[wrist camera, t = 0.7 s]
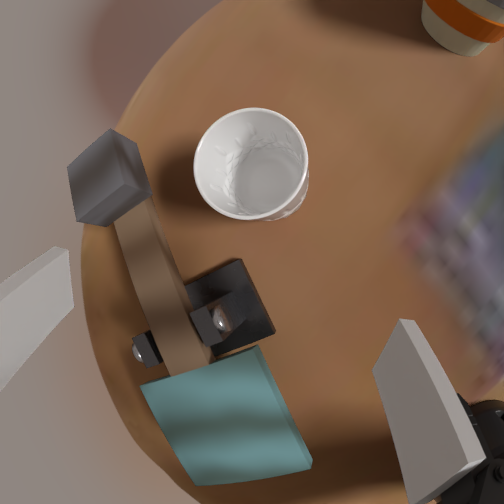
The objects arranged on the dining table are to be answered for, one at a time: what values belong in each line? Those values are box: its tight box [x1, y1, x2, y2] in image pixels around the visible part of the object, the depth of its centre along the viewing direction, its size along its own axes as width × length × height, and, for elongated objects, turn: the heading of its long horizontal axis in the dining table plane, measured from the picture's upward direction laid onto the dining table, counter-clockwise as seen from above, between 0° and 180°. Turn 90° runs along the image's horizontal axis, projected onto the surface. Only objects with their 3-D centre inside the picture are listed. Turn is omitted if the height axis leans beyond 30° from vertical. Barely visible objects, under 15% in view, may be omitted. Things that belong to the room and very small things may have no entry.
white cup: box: [193, 108, 309, 221], centre depth 24 cm, size 8×8×10 cm
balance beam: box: [67, 129, 313, 486], centre depth 23 cm, size 33×12×6 cm, turn 26°
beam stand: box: [132, 259, 276, 368], centre depth 27 cm, size 8×12×8 cm, turn 116°
